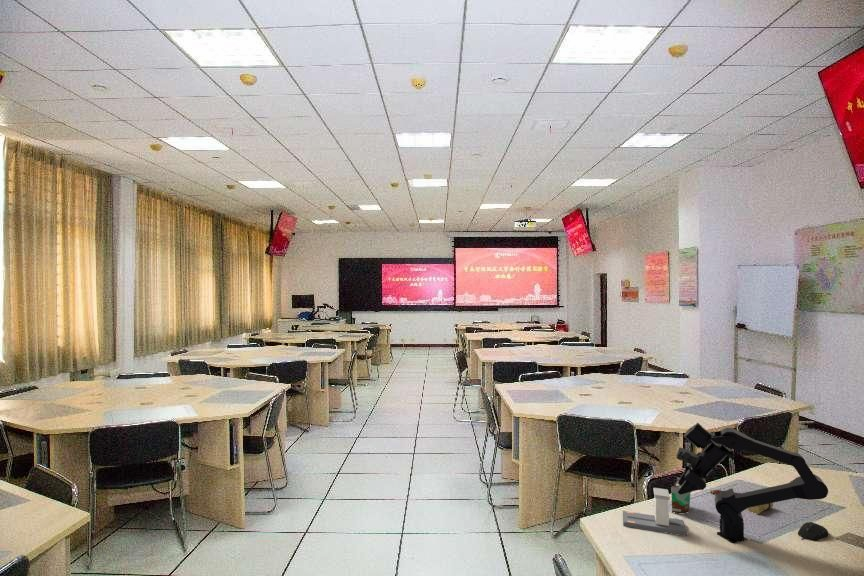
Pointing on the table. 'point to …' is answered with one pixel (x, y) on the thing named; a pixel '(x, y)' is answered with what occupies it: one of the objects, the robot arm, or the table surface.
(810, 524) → the gaming mouse
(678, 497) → the food container
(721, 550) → the table surface
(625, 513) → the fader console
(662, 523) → the fader knob
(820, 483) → the robot arm
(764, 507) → the gavel
